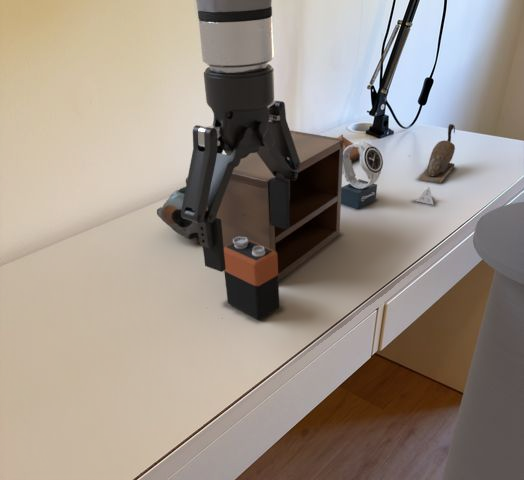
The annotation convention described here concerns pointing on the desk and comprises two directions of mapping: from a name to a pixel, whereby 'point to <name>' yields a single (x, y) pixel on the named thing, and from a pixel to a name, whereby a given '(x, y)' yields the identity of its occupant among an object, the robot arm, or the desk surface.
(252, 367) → the desk surface
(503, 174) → the desk surface
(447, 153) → the figurine
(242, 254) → the battery
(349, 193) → the watch
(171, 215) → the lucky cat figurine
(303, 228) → the shelf
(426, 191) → the tetrahedral die
